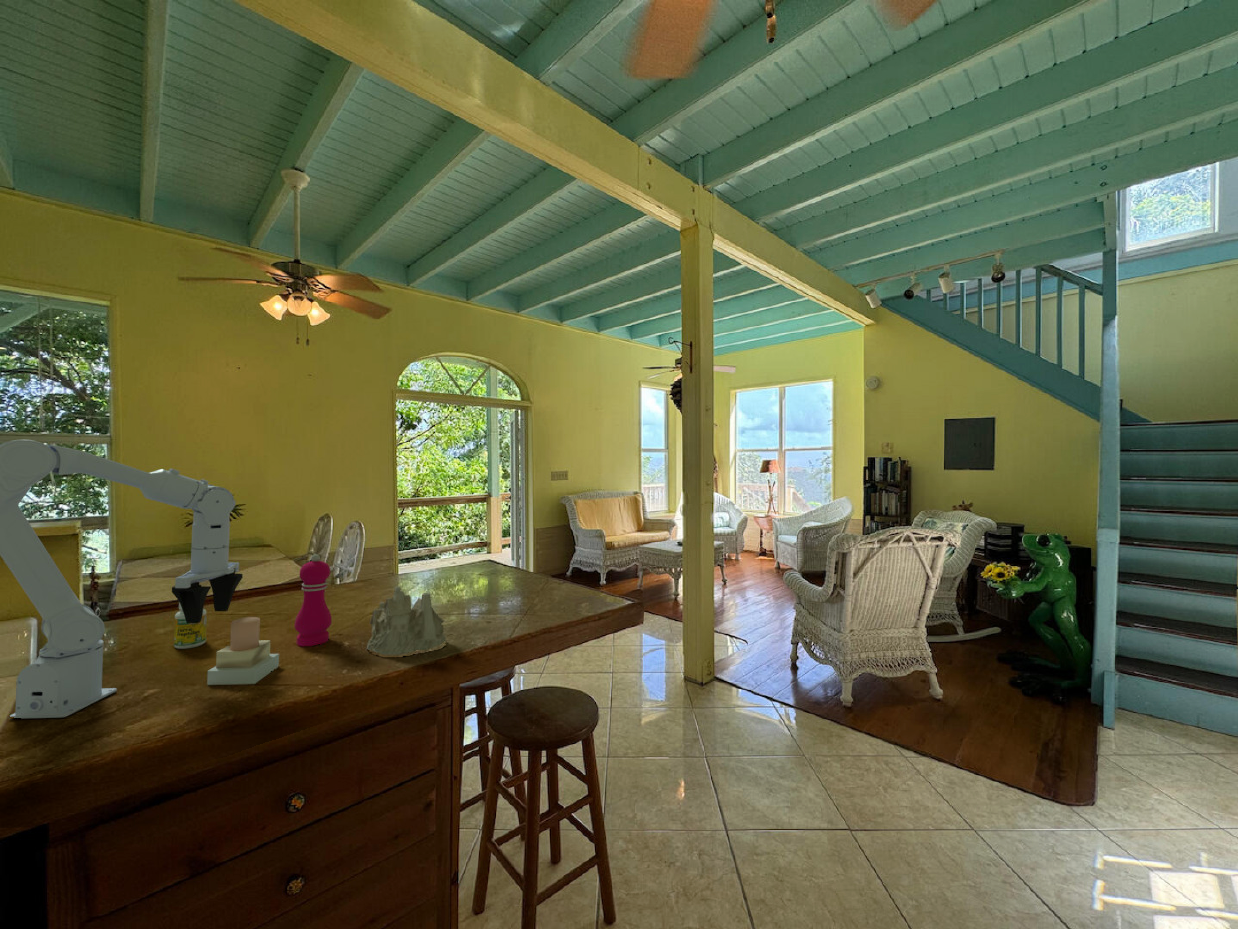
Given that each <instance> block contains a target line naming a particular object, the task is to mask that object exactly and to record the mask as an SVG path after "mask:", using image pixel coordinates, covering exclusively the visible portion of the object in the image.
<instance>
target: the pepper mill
mask: <svg viewBox="0 0 1238 929" xmlns="http://www.w3.org/2000/svg"><path fill="white" fill-rule="evenodd" d="M320 559H321V557H320V555H319V554H313V555H311V556H310V560H311V561H308V562H306V563H304V564H303V565H302V566H301V567H300V569H299V573H298V574H299V577H300V580H301V581H302V582H303V583H301V590H302V591H303V602H302V605H301V607H300V610H299V611H298V613H297V616H296V617H295V621H294V629H295V630H296V632H298V633H299V634H298V635H297V636H296V645H297V646H299V647H305V646H307V647H314V646H313V645H316V646H318V645H317V644H320V645H323V644H325V643H327V642H328V641H329V640H330V639H329V636H330V632H329V631H328V629H329V627H330V626H331V625H332V614H331V611H330V609H329V608H328V606H327V603H326V599H325V598H326V597H325V592H326V589H327V588H328V581H326V580H328V578H329V577H330V575H331V569H330V566H329V564H328V563H327V562H325V561H322V560H320ZM328 639H329V640H328ZM326 641H327V642H326ZM322 643H323V644H322Z"/></svg>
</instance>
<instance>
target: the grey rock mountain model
mask: <svg viewBox="0 0 1238 929" xmlns="http://www.w3.org/2000/svg"><path fill="white" fill-rule="evenodd" d="M421 594H422V595H421V598H419V597H418V598H417V600H416V601H415V602H414V604H413V606H412V601H411V600H412V599H411V596H410V595H411V594H406V595H405V592H404V590H401V587H400V586H395V588H394V592H393V596H392V597H387V598H386V599H385V602H384V601H380V602H379V605H378V608H374V609H373V611H372V614H371V618H370V621H369V624H370V625H371V637H370V639H369V640H368V641H367V646H366V650H367V649H368V650H372V651H374V652H376V653H379V654H383V655H401V654H406V653H410V652H413V651H416V650H427V649H430V648H433V647H436V646H438V645H440V644H442V643H444V641H446V642H447V640H446V635H444V625H442V624H444V622H445V620H444V619H442V617H440V616H439V614H437V612H436V611H435V610H434V608H433V606H432V599H431V593H429V592H423V593H421Z"/></svg>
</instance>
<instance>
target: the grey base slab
mask: <svg viewBox="0 0 1238 929" xmlns="http://www.w3.org/2000/svg"><path fill="white" fill-rule="evenodd" d="M278 666H280V653H270V656H268V657H267V658H265V659H264V660H262V661H261V662H259V663H257V664H256V665H254V666H253V667H251V668H216V665H215V666H214V667H212V668H210V669H208V670H207V677H206V678H207V680H206V681H207V683H206V684H207V686H213V685H214V686H215V685H224V686H225V685H255V684H256V683H258V682H259V681H261V680H262V679H263V678H265V677H266V676H267V675H269V674H270V673H272V672H273V671H274V669H275V670H276V669H277V668H279V667H278ZM271 671H272V672H271Z"/></svg>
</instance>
